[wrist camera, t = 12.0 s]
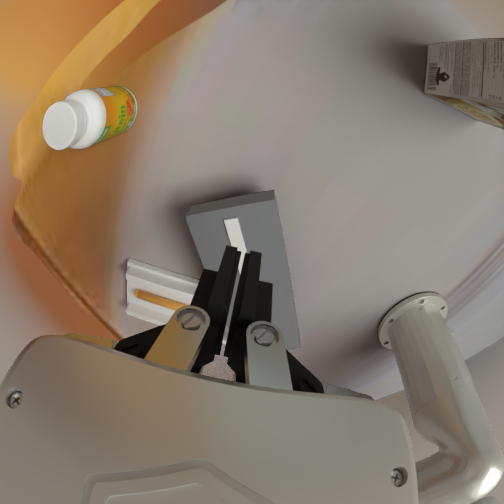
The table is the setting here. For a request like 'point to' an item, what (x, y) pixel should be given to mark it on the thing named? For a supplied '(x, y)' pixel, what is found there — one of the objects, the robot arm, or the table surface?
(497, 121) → the coffee box
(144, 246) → the table surface
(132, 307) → the duct base
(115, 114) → the supplement bottle
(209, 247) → the block
